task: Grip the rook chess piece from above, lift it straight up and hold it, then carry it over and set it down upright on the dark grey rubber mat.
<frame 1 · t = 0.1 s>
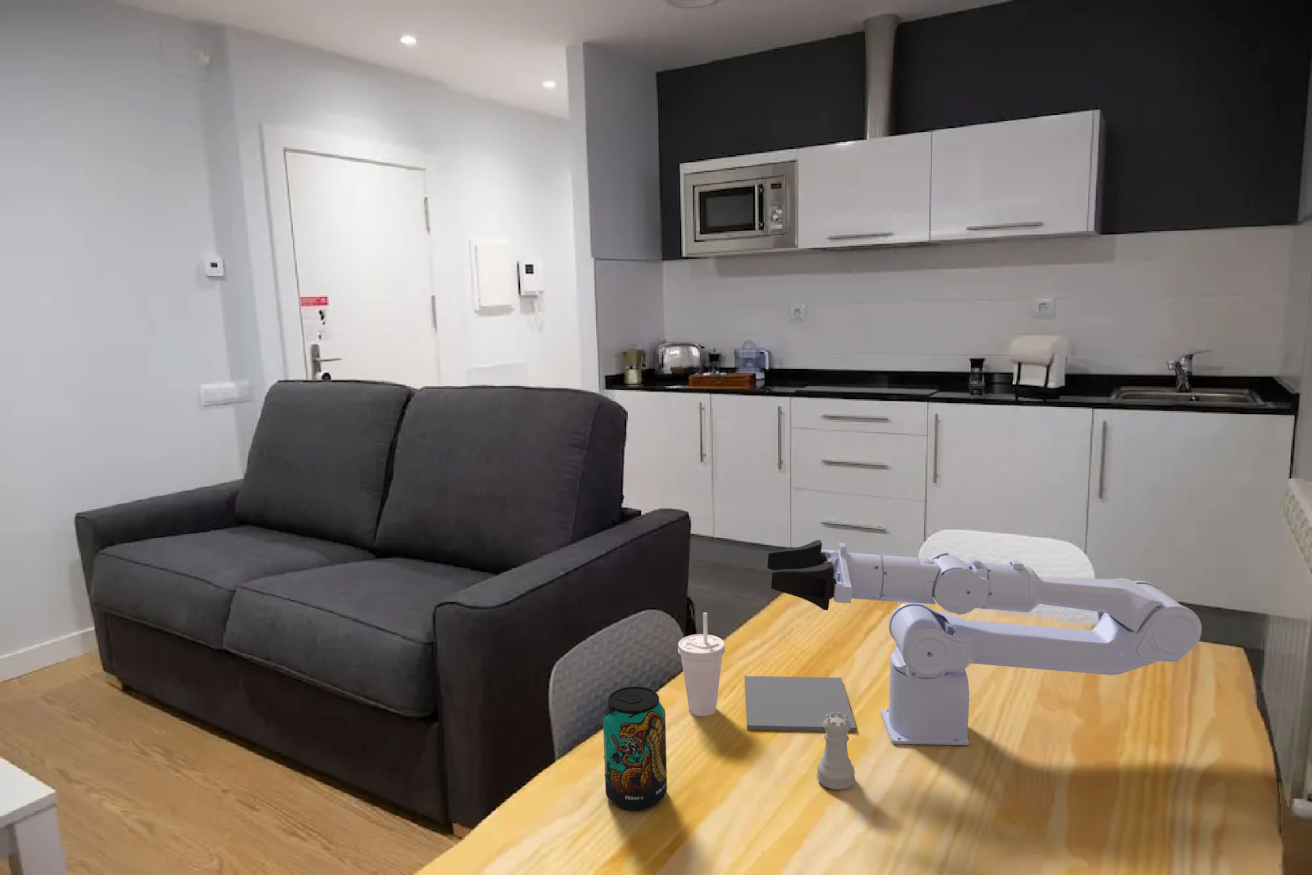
hand: (769, 569, 105), 22 cm above the table, tool horizontal, fingers open, 7 cm apart
rook chess piece: (835, 782, 97), on the table
rubber mat: (796, 704, 115), on the table
smoothie: (702, 710, 114), on the table
beverage can: (636, 797, 95), on the table
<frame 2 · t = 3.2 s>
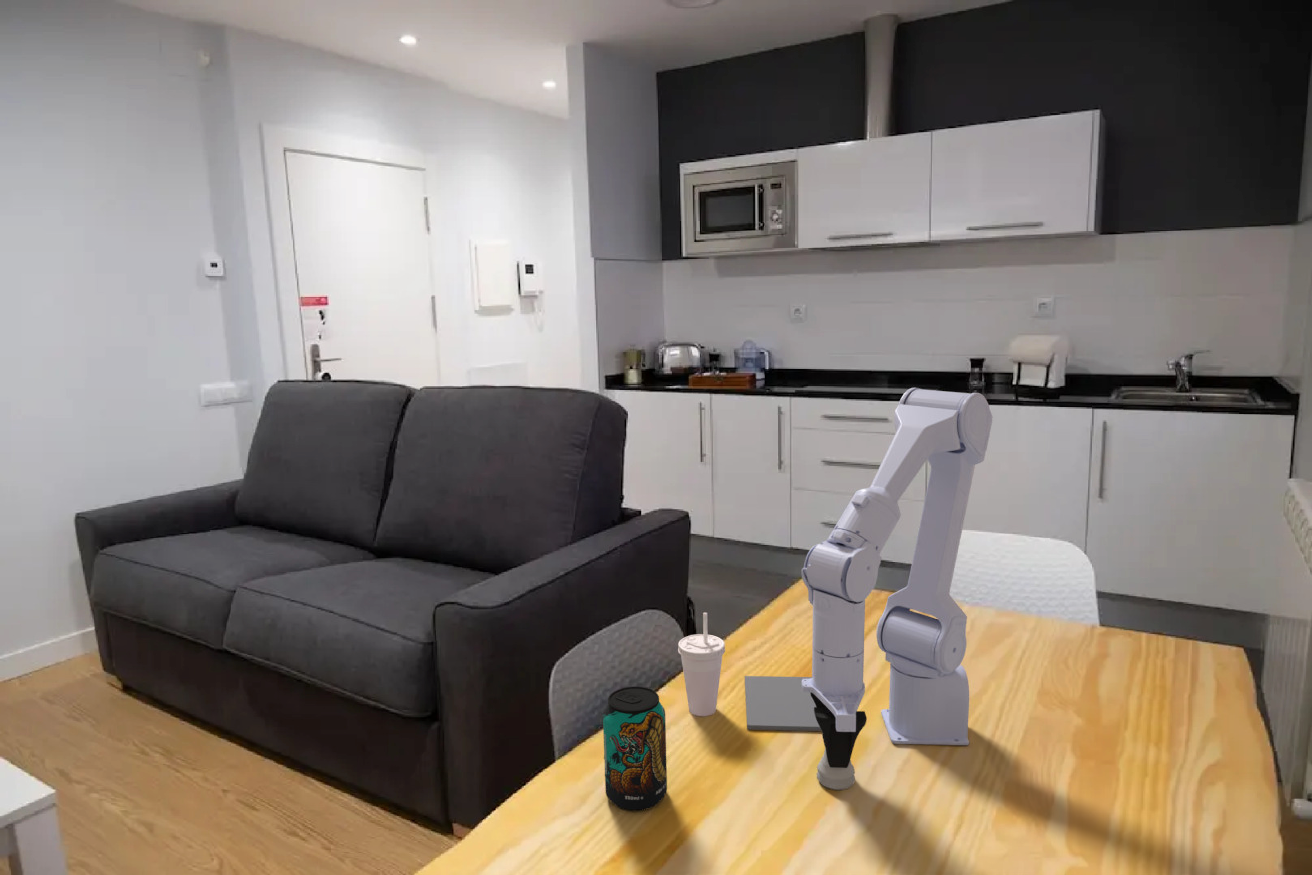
hand: (836, 756, 96), 3 cm above the table, tool pointing down, fingers closed on rook chess piece, 3 cm apart
rook chess piece: (835, 782, 97), on the table, touching gripper
everything else where it was.
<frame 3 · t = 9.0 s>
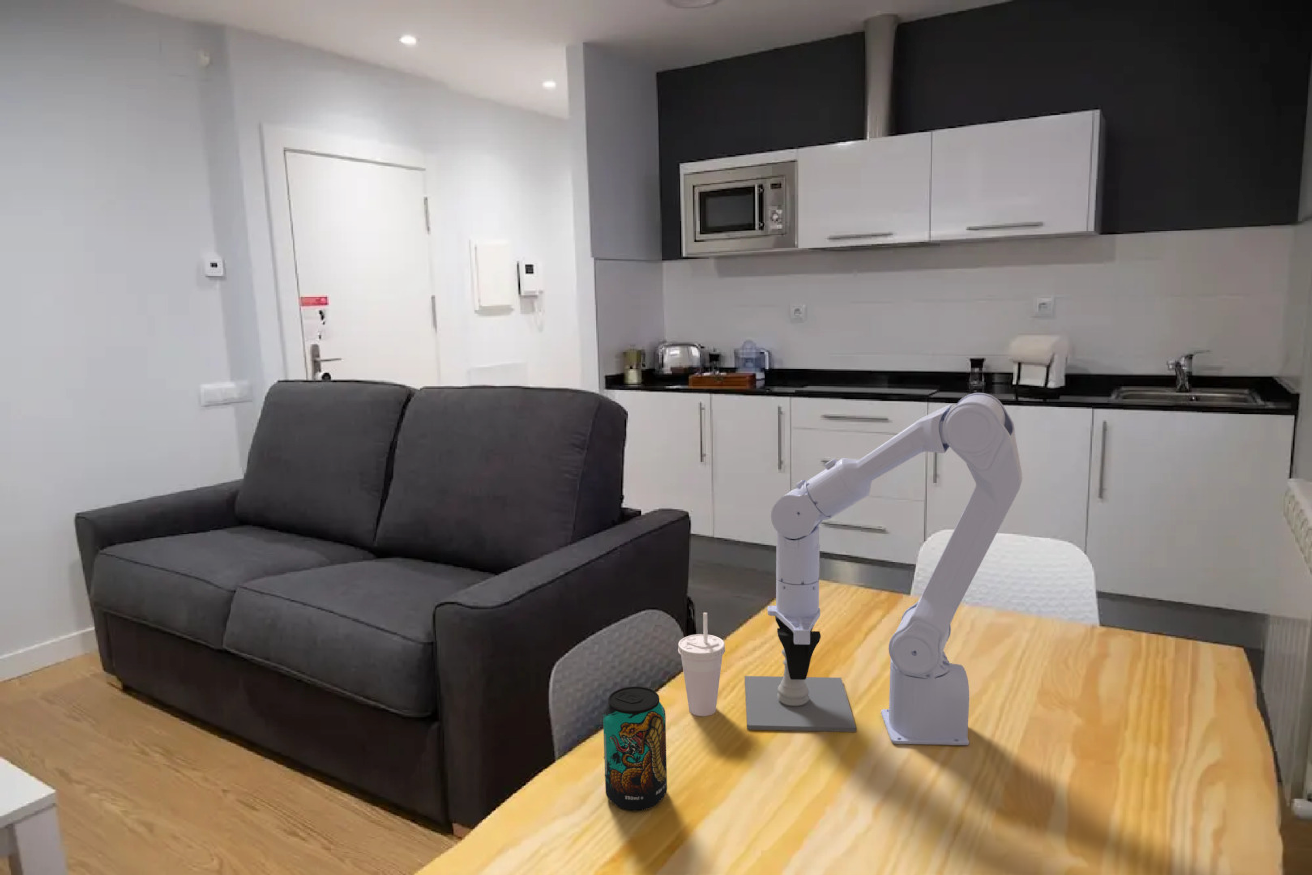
hand: (796, 672, 114), 5 cm above the table, tool pointing down, fingers closed on rook chess piece, 3 cm apart
rook chess piece: (793, 701, 115), resting on rubber mat, touching gripper
everything else where it was.
when the fingers open (5 cm above the table, at t = 9.3 s): rook chess piece stays where it is, resting on rubber mat.
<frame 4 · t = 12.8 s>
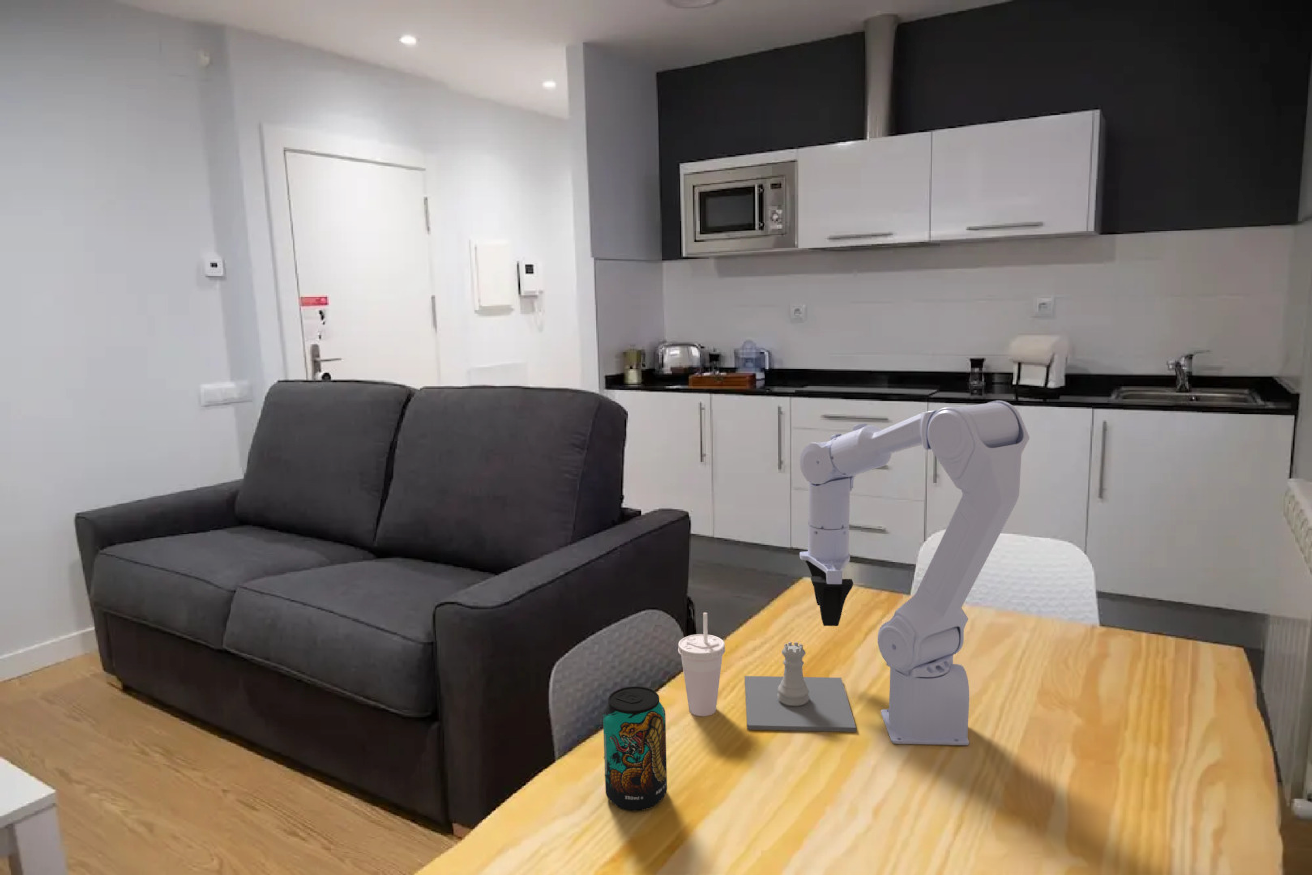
hand: (827, 614, 120), 10 cm above the table, tool pointing down, fingers open, 7 cm apart
rook chess piece: (793, 701, 115), resting on rubber mat
everything else where it was.
at the end: rook chess piece inside the target area on the rubber mat (0.5 cm from its centre), point 0.4 cm above the rubber mat's base; rook chess piece tilted 0°; the gripper is holding nothing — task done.
